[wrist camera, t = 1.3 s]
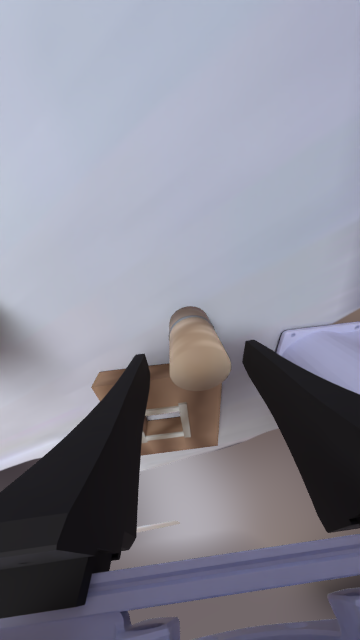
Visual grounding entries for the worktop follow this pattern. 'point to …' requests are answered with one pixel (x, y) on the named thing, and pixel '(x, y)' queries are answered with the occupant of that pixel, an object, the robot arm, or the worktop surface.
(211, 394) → the socket board
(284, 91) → the worktop surface
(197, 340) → the peg
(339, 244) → the worktop surface
